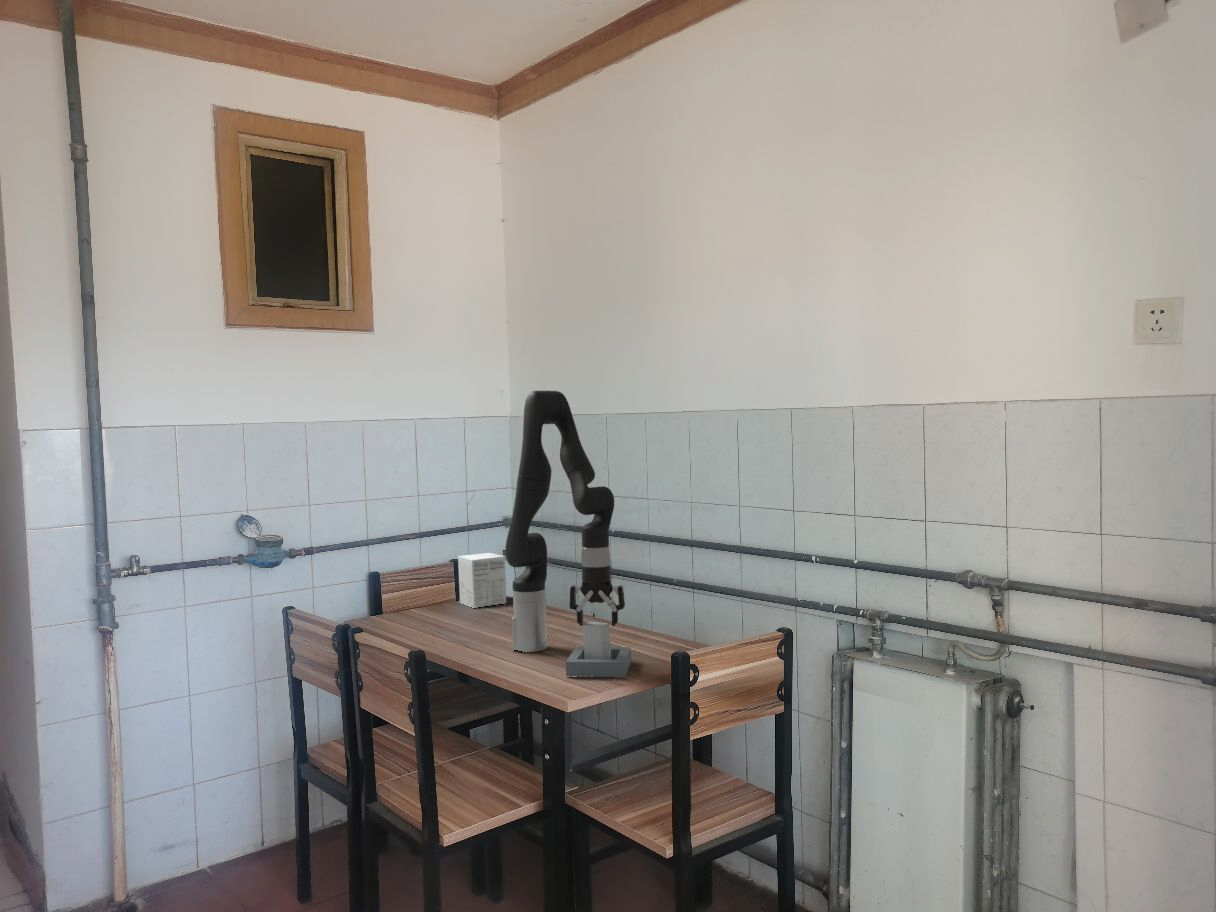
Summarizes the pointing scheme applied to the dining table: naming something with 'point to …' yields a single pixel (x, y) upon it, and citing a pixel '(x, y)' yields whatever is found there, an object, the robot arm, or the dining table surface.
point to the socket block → (599, 664)
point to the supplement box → (482, 579)
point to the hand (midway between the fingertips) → (597, 625)
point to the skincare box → (596, 640)
